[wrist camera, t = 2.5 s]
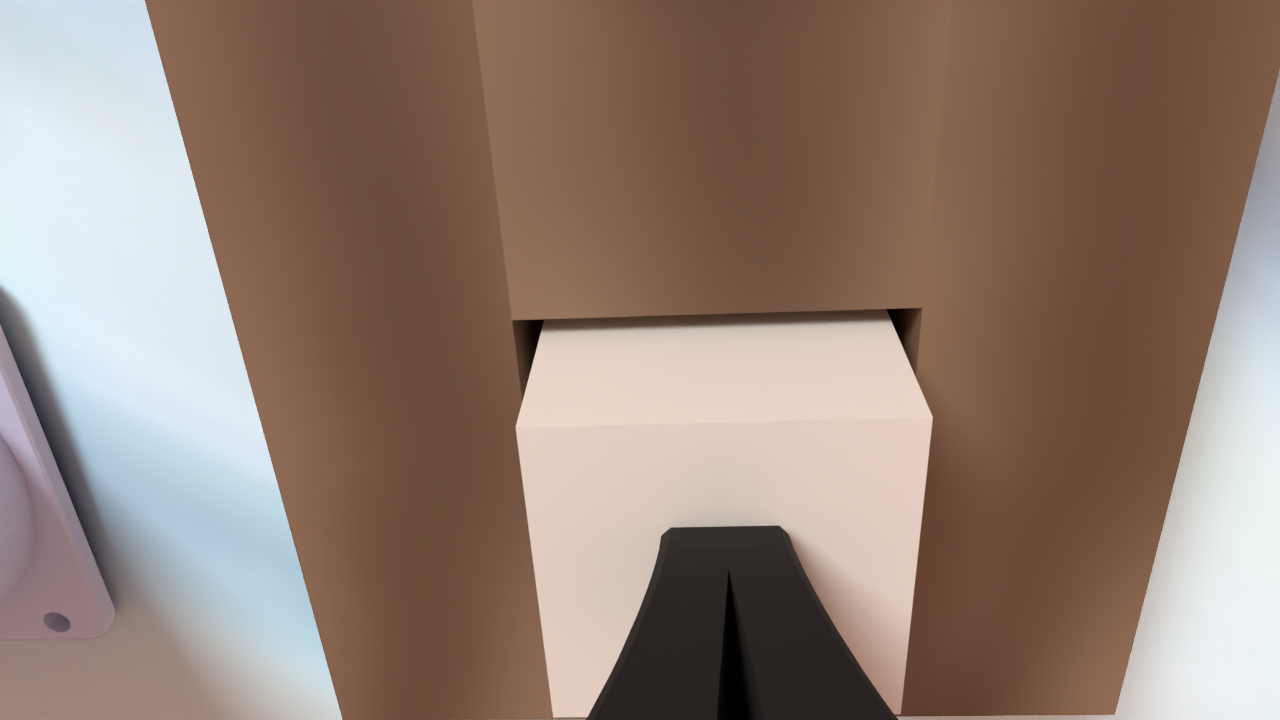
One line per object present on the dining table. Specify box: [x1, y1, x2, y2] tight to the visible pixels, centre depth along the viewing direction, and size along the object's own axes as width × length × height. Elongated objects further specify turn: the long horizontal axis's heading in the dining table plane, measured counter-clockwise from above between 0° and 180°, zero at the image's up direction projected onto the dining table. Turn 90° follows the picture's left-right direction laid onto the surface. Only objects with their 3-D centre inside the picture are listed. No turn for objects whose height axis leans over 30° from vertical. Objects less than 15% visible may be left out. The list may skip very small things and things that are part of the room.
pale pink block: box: [516, 309, 933, 717], centre depth 13 cm, size 4×4×3 cm
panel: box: [145, 0, 1280, 720], centre depth 12 cm, size 12×20×4 cm, turn 3°
